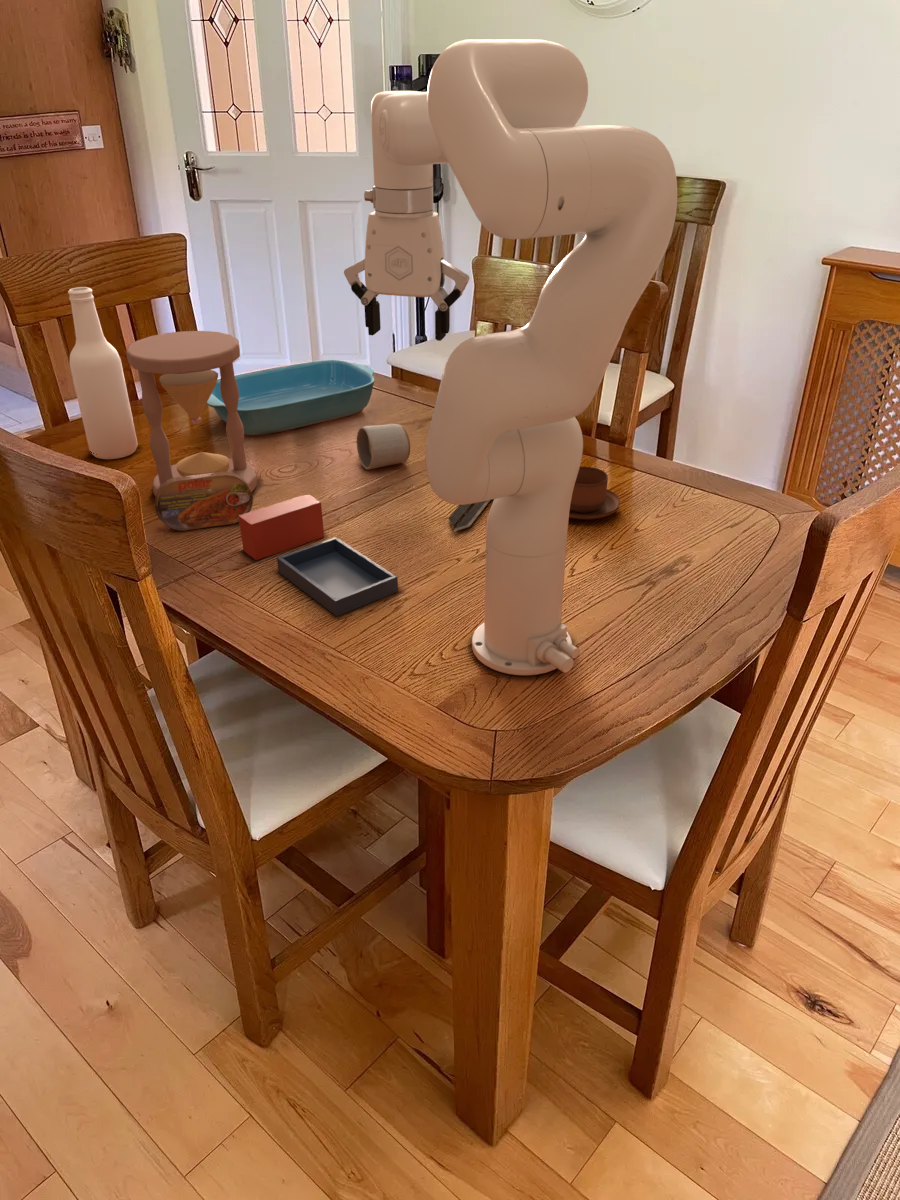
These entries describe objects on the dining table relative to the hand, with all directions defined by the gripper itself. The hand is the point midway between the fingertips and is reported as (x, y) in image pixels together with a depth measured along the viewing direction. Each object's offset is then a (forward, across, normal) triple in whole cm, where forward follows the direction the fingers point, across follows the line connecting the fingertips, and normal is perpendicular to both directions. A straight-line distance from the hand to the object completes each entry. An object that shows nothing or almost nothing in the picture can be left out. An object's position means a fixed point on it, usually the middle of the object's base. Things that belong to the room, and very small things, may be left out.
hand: (407, 335), depth 123 cm
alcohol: (+32, -66, +18) cm, 75 cm away
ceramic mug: (+32, -14, +26) cm, 43 cm away
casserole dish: (+32, -41, +46) cm, 69 cm away
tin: (+32, -33, -5) cm, 46 cm away
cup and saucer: (+31, +25, +15) cm, 42 cm away
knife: (+31, +8, +14) cm, 35 cm away
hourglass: (+32, -40, +7) cm, 52 cm away
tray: (+31, -6, -17) cm, 36 cm away
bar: (+31, -18, -8) cm, 37 cm away
